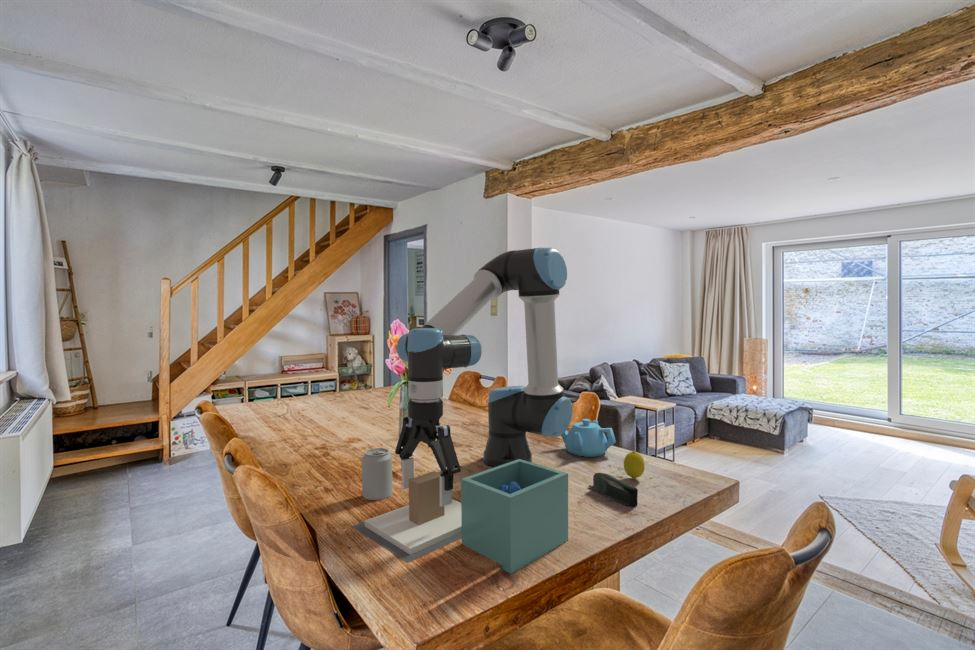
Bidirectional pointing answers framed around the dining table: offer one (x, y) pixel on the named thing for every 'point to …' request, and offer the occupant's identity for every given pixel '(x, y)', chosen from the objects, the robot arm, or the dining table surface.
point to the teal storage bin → (515, 513)
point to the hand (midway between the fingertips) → (426, 495)
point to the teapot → (588, 439)
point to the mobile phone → (615, 489)
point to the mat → (400, 552)
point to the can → (376, 474)
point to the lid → (419, 517)
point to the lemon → (634, 464)
